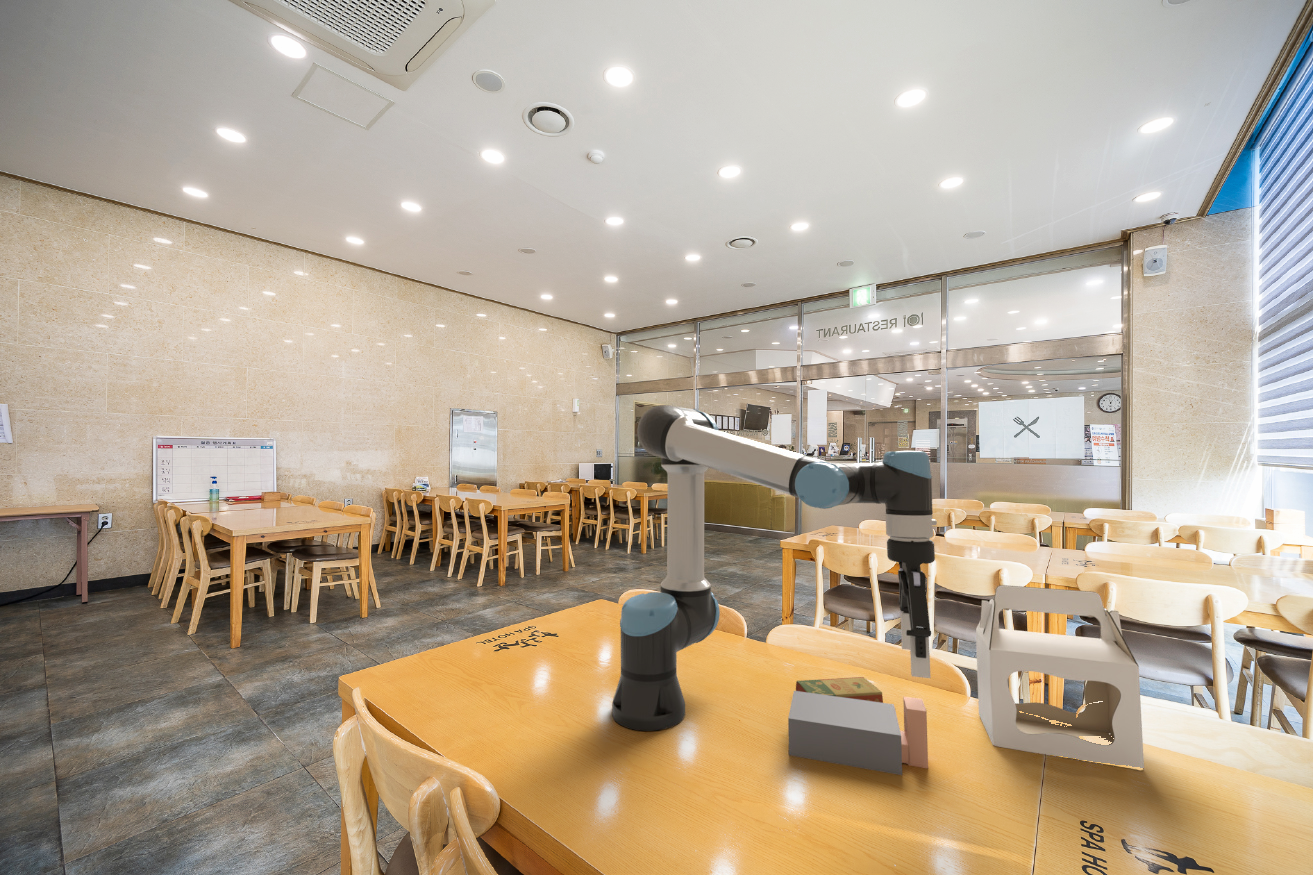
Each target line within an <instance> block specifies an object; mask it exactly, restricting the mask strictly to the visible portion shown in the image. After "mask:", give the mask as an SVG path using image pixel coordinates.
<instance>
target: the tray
mask: <svg viewBox="0 0 1313 875" xmlns="http://www.w3.org/2000/svg"><path fill="white" fill-rule="evenodd" d="M927 711H928V710H927V708H926V706H925V703H924V700H923V698H918V697H917V698H916V697H910V696H903V730H900V733H901V747H902V764H906V765H908V766H911V767H916V768H923V769H929V751H928V750H929V748H928V718H927V717H928V715H927V713H928V712H927Z"/></svg>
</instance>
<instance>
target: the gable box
mask: <svg viewBox="0 0 1313 875" xmlns="http://www.w3.org/2000/svg"><path fill="white" fill-rule="evenodd" d="M994 592H995V593H994V598H991V599H990V600H989V601H988V600H987V599H986V600H985V599H981V603H980V604H981V605H980V606H981V607H980V619H979V623H978V624H977V626H976V628H975V644H976V645H975V646H976V668H977V669H976V671H977V672H976V673H977V676H976V677H977V698H978V699H977V700H979V701H978V703H977V704H978V715H979V718H980V720H981V722H982V724H983V726H984V728H985V731H986V733H987V735H988V738H989V740H990V743H991V744H992V745H993V747H998V748H1004V749H1011V750H1015V751H1016V750H1017V751H1021V752H1028V753H1035V754H1038V753H1039V755H1044V754H1046V755H1045V756H1050V755H1054V756H1053V757H1056V756H1063V757H1068V758H1074V759H1075V758H1076V759H1079V760H1087V761H1093V762H1101V763H1110V764H1115V765H1126V766H1128V765H1129V766H1132V767H1140V768H1144V769H1145V759H1144V744H1143V742H1144V741H1143V740H1144V737H1143V727H1142V726H1143V723H1142V722H1143V721H1142V706H1141V686H1140V685H1141V684H1140V683H1141V682H1140V669H1139V668H1140V666H1139V664H1138V663H1137V661H1136V659H1135V657H1134V655H1133V653H1132V651H1131V650H1130V648H1129V646H1128V643H1127V642H1126V640H1125V639H1124V636H1123V630H1122V626H1121V620H1120V613H1119V611H1118V610H1110V611H1108V609H1106V608H1105V607H1104V604H1103V601H1102V597H1101V596H1100V594H1099V592H1095V591H1088V590H1078V589H1077V590H1075V589H1065V588H1064V589H1063V588H1062V589H1061V588H1048V587H1047V588H1046V587H1033V586H1020V585H1006V584H1000V585H997V586H996V587H995V589H994ZM1003 610H1004V611H1009V610H1011V611H1021V612H1022V611H1024V612H1033V613H1034V612H1035V613H1036V612H1037V613H1046V614H1057V615H1059V614H1060V615H1070V616H1071V615H1072V616H1081V617H1087V618H1095V619H1096V620H1097V621H1098V622H1099V633H1100V636H1099V638H1098V637H1086V636H1075V635H1065V634H1058V633H1047V632H1046V633H1045V632H1035V631H1026V630H1025V631H1024V630H1016V629H1014V630H1013V629H1008V628H1005V629H1004V628H1000V623H999V621H1000V618H999V614H1000V612H1001V611H1003ZM1017 672H1034V673H1041V674H1044V675H1049V676H1053V677H1056V678H1059V679H1065V680H1069V681H1086V683H1085V686H1084V690H1083V697H1084V703H1085V704H1084V705H1087V704H1088V705H1087V706H1085V707H1084V710H1083V711H1081V712H1072V711H1068V710H1065V709H1063V708H1061V707H1058V706H1054V705H1052V704H1047V703H1044V702H1023V703H1022V702H1021V703H1020V702H1019V703H1017V702H1016V703H1015V700H1014V697H1013V695H1012V694H1011V693H1012V692H1011V690H1010V688H1009V683H1008V681H1009V677H1010V676H1011V675H1012V674H1014V673H1017ZM1098 701H1103V702H1099V703H1093V702H1098ZM1089 703H1092V704H1089ZM1019 711H1022V712H1024V713H1020V712H1019ZM1026 713H1028V714H1026ZM1077 713H1079V714H1078V717H1077V718H1076V714H1077ZM1029 714H1033V715H1029ZM1034 715H1038V716H1040V717H1036V716H1034ZM1041 717H1044V718H1046V719H1049V720H1056V721H1059V722H1063V723H1067V724H1071V725H1072V726H1067V725H1065V724H1062V726H1060V724H1061V723H1056V724H1059V725H1055V724H1051V722H1049V720H1045V719H1042V718H1041ZM1064 726H1065V727H1064ZM1066 726H1067V727H1066ZM1079 736H1101V738H1106V739H1104V740H1108V742H1109V741H1110V742H1112V743H1111V744H1109V745H1101V744H1096V743H1092V742H1089V741H1086V740H1083V739H1080V738H1079ZM1111 736H1112V737H1111ZM1099 738H1100V737H1099ZM1113 738H1114V739H1113ZM1079 760H1078V761H1079Z"/></svg>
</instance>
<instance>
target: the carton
mask: <svg viewBox="0 0 1313 875" xmlns="http://www.w3.org/2000/svg"><path fill="white" fill-rule="evenodd" d="M795 691H800V692H807V693H814V694H822V695H829V696H836V697H844V698H851V699H858V700H866V701H873V702H880V703H884V701H883V700H884V699H883V698H884V696H883V692H882V690H880V689H879V688H878V687H877V686H875V684H873V683H872V682H870V681H869V680H868V679H866V678H865V677H863V676H856V677H841V678H840V677H839V678H823V679H806V680H796V683H795Z"/></svg>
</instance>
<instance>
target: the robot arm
mask: <svg viewBox="0 0 1313 875" xmlns="http://www.w3.org/2000/svg"><path fill="white" fill-rule="evenodd" d="M636 431H637V432H636V433H637V440H638V441H639V444H640V445H641V447H642V449H643V450H645V452H647V454H650V455H652V456H655V457H659V458H660V459H661V462H660V463H661V464H660V466H661V467H662V469H663V470H664V471H666V474H667V501H666V502H667V505H666V506H667V510H666V511H667V515H666V516H667V518H666V519H667V520H666V522H667V526H666V527H667V528H666V529H667V530H666V531H667V532H666V533H667V538H666V540H667V541H666V542H667V544H666V545H667V546H666V551H667V552H666V553H667V555H666V557H667V558H666V559H667V560H666V561H667V565H666V577H665V578H664V579H663V580H662V581H661V582H660V591H658V592H655V591H654V592H653V591H652V592H648V593H641V594H637V595H633V596H632V597H629V598H628V599H627V600H626V601H625V602H624V603H623V605H622V606H621V613H620V620H619V627H620V676H619V680H618V683H617V686H616V689H615V693H614V695H613V699H612V704H611V714H612V718H613V720H614V721H615V722H616V723H617V724H618V725H620V726H622V727H624V728H628V729H630V730H634V731H646V732H647V731H648V732H651V731H661V730H666V729H669V728H672V727H674V726H675V727H676V725H678V724H680V723H681V722H682V721H683V720H684V718H685V717H686V701H685V697H684V695H683V692H682V689H681V685H680V682H679V681H680V680H679V678H678V676H677V675H678V674H677V673H678V672H677V671H678V670H677V653H678V652H679V651H681V650H684V649H687V648H688V647H690V646H692V645H694V644H697V643H700V642H702V641H704V640H705V639H706V638H707V637H708V636H711V634H712V633H713V632H714V631H715V630H716V628H717V626H718V623H719V621H720V612H721V611H720V605H719V601H718V599H716V598H715V594H714V593H713V592H712V590H711V589H712V586H711V585H712V584H711V583H710V582H709V580H707V578H705V474H706V472H707V471H708V470H709V469H711V470H714V471H718V472H721V473H724V474H727V475H730V476H732V477H735V478H739V479H741V480H745V481H748V482H750V483H754V484H756V485H758V486H759V485H760V486H762V487H765V488H769V489H772V490H775V491H777V492H779V493H780V492H781V493H783V494H787V495H790V496H792V497H795V498H797V499H798V500H799V499H800V501H802V502H803V503H804V504H806V505H807V506H809V507H811V508H815V509H816V508H817V509H821V510H822V509H824V510H826V509H831V508H834V507H838V506H843V505H849V504H884V505H885V512H884V513H885V534H886V535H887V537H888V538H887V540H886V551H887V554H886V555H887V558H888V560H889V561H891V562H895V563H898V565H899V566H898V567H899V569H898V570H897V576H898V584H899V585H898V590H899V591H898V592H899V594H898V595H899V596H898V605H899V610H900V633H901V634H900V636H901V649H902V650H907V651H908V650H909V651H910V653H909V654H910V671H911V672H910V673H911V674H910V675H911V677H914V678H925V679H931V659H930V657H931V656H930V637H931V635H932V630H931V628H930V627H931V625H930V617H929V615H930V614H929V607H928V597H927V588H926V581H927V579H926V578H927V576H926V573H925V572H924V571H923V570H922V569H921V566H922V564H924V565H925V564H927V565H928V564H931V563H933V562H935V560H936V555H935V552H936V550H935V542H934V541H933V540H932V539H931V538H933V537H934V527H933V526H936V525H937V524H938V523H937V522H938V520H937V519H934V518H933V512H934V511H933V487H932V486H933V484H932V482H933V481H932V479H933V476H932V472H931V463H930V462H931V461H930V457H929V455H928V453H927V452H925V451H922V450H900V451H899V450H898V451H897V450H896V451H894V450H893V451H887V452H884V453H883V459H882V461H880V462H871V463H870V462H830V461H826V460H823V459H819V458H816V457H812V456H807V455H804V454H801V453H797V452H795V451H794V452H793V451H790V450H787V449H783V448H780V447H776V446H774V445H770V444H767V443H763V442H758V441H755V440H751V439H749V438H746V437H741V436H738V435H734V434H731V433H728V432H724V431H721V430H719V426H718V425H717V423H716V421H715V420H714V418H712V417H711V415H709V414H708V413H706V412H704V411H701V410H699V409H695V408H687V407H680V406H674V405H668V404H661V405H655V406H653V407H651V408H649V409H648V410H646V412H644V413H643V415H641V417H640V419H639V422H638V424H637V430H636Z"/></svg>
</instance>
